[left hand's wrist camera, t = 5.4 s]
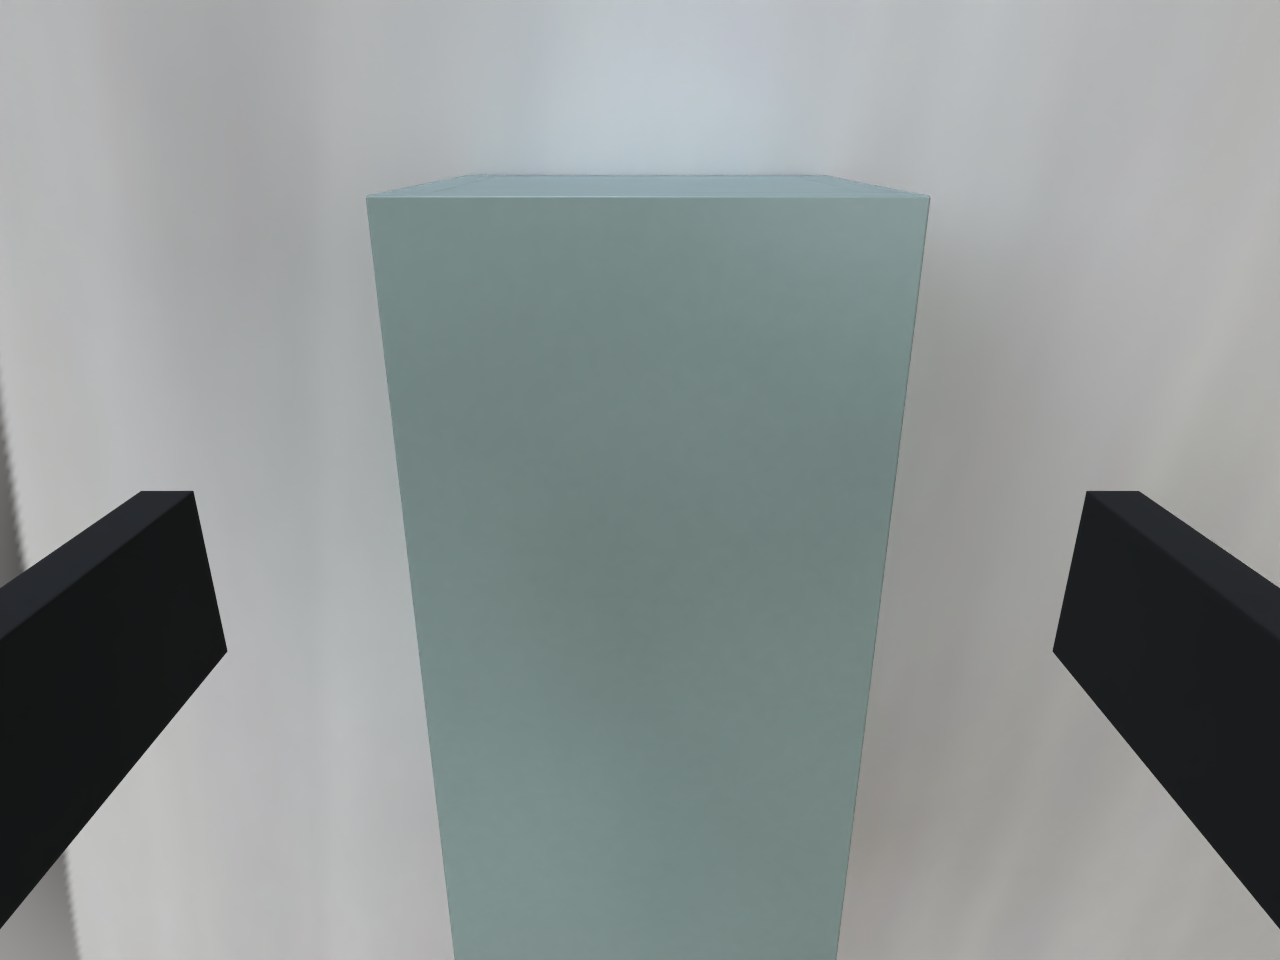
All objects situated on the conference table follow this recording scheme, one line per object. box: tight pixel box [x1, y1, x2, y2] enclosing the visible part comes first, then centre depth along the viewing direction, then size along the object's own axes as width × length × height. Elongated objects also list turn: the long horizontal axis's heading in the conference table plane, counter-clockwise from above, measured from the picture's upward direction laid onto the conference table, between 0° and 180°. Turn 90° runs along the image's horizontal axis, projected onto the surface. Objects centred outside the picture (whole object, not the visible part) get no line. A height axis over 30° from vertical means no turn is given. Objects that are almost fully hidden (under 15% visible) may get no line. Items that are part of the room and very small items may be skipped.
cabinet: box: [366, 175, 930, 960], centre depth 24 cm, size 21×11×10 cm, turn 0°
